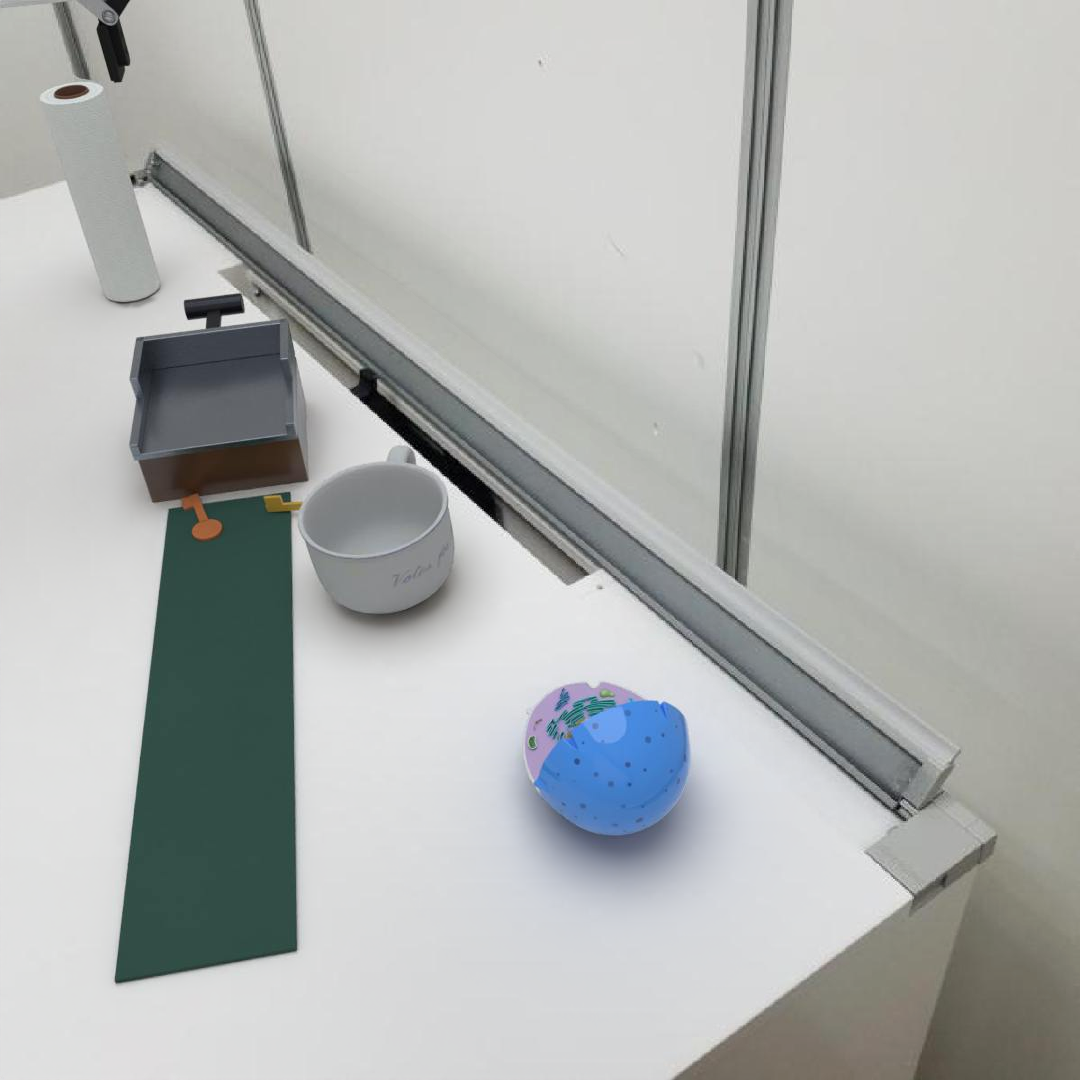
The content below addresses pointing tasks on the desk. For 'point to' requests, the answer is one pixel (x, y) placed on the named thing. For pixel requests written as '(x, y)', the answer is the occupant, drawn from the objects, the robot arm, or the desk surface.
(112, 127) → the paper towel roll
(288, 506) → the brass key
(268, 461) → the stand
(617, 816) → the cell model
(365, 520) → the teacup
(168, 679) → the mat
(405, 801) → the desk surface
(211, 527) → the copper key
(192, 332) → the grey letter tray
